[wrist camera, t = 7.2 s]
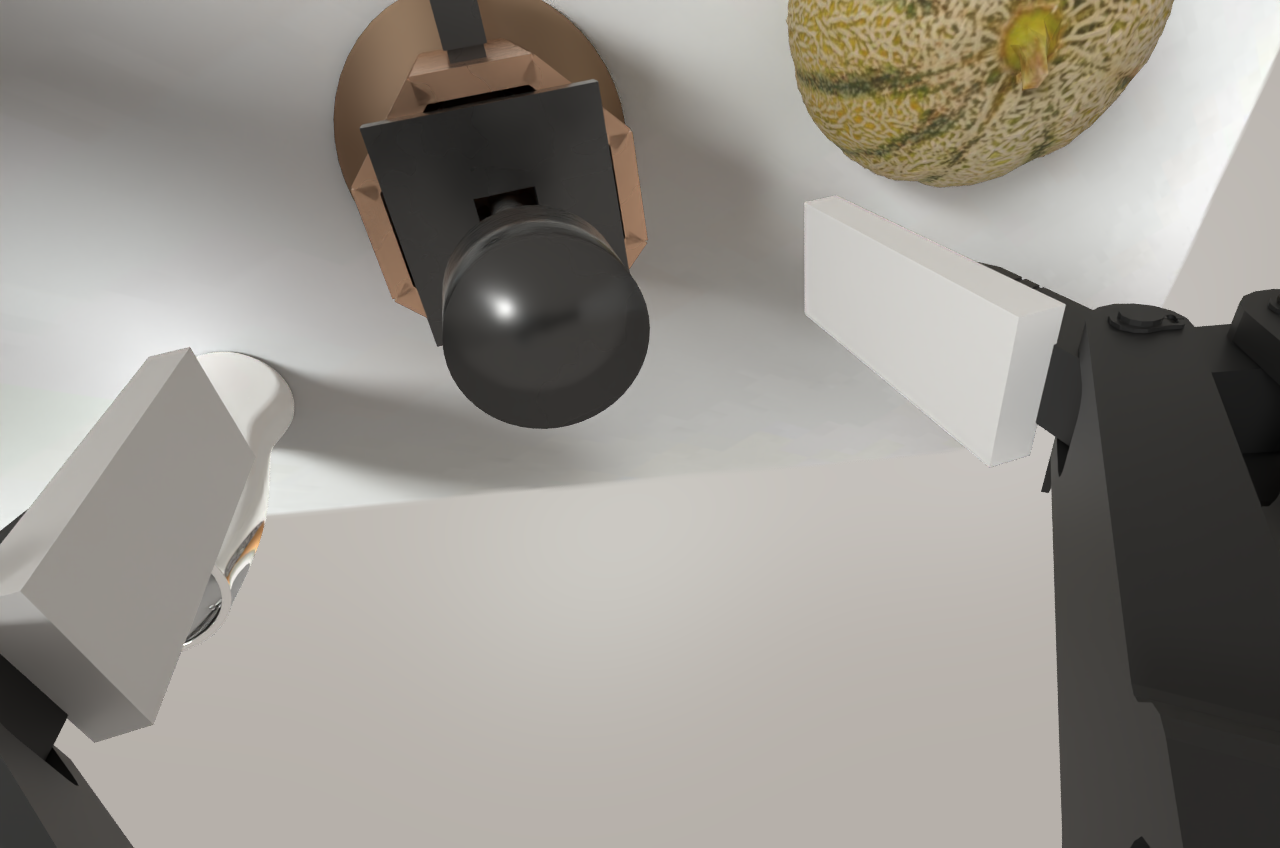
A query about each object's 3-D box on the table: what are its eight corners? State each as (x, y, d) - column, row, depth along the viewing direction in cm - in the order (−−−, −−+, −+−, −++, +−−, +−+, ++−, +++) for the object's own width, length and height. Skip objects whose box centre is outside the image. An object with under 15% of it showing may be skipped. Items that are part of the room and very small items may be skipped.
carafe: (425, 260, 35) (418, 378, 24) (333, -11, 28) (263, -22, 17) (595, 222, 36) (663, 317, 25) (545, -47, 29) (608, -79, 18)
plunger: (446, 234, 33) (452, 485, 15) (405, 100, 29) (353, 234, 12) (566, 207, 33) (696, 419, 16) (538, 75, 30) (666, 166, 13)
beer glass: (314, 447, 39) (257, 647, 27) (181, 458, 38) (56, 677, 25) (289, 339, 36) (208, 514, 23) (140, 346, 34) (-30, 538, 22)
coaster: (396, 308, 36) (395, 313, 36) (282, 10, 28) (279, 10, 28) (641, 251, 38) (644, 254, 38) (597, -44, 30) (600, -45, 30)
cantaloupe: (1055, -59, 35) (1389, -95, 23) (885, 200, 40) (1081, 285, 28) (856, -274, 28) (1176, -489, 16) (685, 70, 34) (826, 106, 21)
